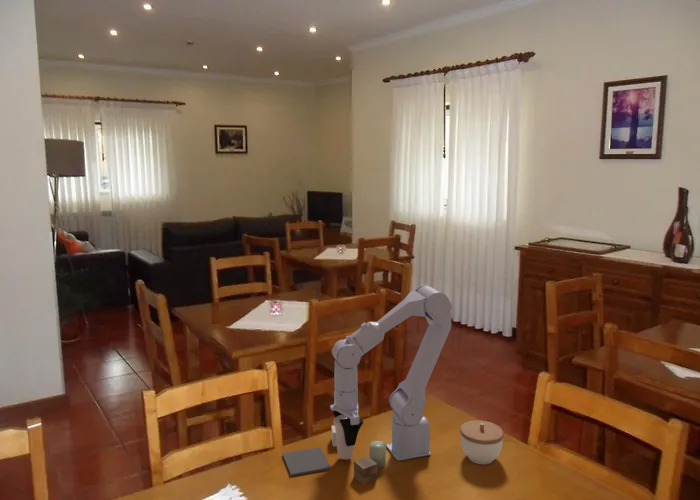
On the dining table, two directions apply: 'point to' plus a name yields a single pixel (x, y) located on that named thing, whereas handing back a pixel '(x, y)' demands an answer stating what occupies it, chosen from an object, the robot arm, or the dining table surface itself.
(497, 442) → the lidded jar
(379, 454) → the sage tin
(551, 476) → the dining table surface
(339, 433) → the smoothie
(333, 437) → the grey block
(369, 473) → the walnut block
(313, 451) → the mat
